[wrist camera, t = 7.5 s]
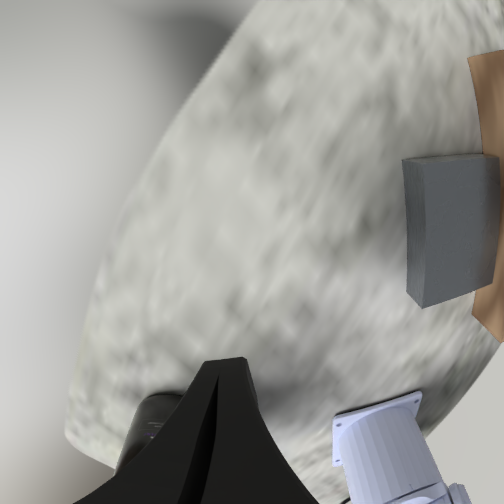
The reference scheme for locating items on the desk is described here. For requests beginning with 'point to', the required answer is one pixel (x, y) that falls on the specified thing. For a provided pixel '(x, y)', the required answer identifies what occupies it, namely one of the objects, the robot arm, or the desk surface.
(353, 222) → the desk surface
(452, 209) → the steel plate
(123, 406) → the desk surface
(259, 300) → the desk surface
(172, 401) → the supplement bottle
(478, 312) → the block
